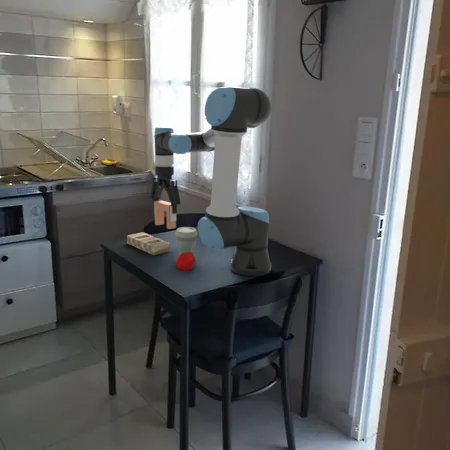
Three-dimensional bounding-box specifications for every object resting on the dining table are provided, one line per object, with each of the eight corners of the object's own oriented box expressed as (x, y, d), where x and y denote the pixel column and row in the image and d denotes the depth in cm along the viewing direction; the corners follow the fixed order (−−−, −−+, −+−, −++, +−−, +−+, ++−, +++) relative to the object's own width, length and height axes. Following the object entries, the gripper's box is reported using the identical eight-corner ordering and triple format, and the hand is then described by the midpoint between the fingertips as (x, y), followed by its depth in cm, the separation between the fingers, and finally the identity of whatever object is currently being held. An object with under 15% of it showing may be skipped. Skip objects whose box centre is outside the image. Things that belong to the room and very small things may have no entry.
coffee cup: (193, 264, 182) (194, 233, 179) (172, 262, 183) (172, 231, 180) (199, 256, 190) (200, 227, 187) (178, 254, 192) (178, 225, 188)
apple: (180, 259, 171) (195, 247, 175) (169, 257, 176) (184, 246, 181) (187, 275, 174) (202, 263, 178) (176, 273, 179) (191, 261, 183)
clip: (176, 227, 200) (175, 204, 197) (169, 229, 198) (169, 205, 195) (161, 223, 207) (161, 200, 204) (155, 224, 205) (154, 201, 202)
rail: (170, 251, 195) (170, 243, 194) (153, 255, 190) (153, 246, 189) (143, 239, 208) (142, 232, 207) (127, 243, 203) (127, 235, 202)
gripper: (189, 167, 190) (189, 222, 196) (155, 161, 206) (156, 212, 212) (174, 169, 185) (174, 225, 191) (140, 163, 201) (142, 215, 207)
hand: (165, 218), depth 201 cm, fingers closed on clip, 10 cm apart
